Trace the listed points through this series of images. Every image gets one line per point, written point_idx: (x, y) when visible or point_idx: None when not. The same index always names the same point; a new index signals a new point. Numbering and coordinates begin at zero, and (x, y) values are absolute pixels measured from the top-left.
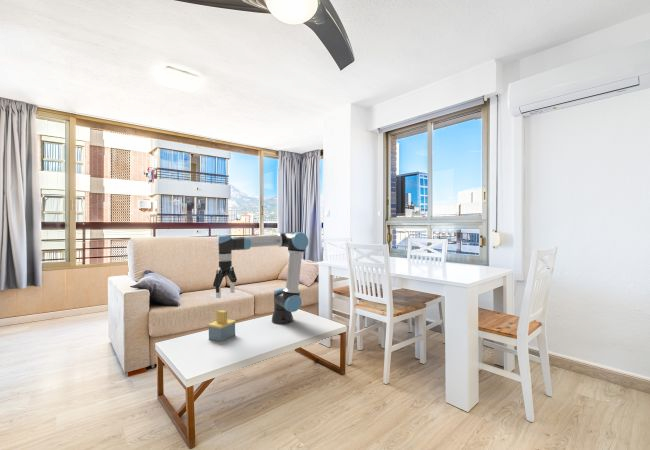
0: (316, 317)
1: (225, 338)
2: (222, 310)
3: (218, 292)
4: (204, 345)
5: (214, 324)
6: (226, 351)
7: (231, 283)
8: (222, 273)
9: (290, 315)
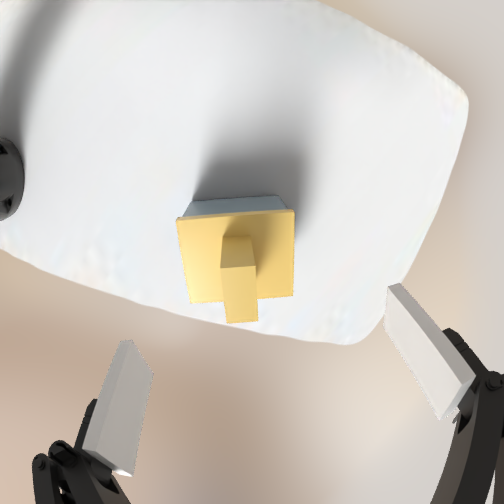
0: None
1: (250, 198)
2: (228, 303)
3: (442, 331)
4: (329, 225)
5: (282, 266)
6: (333, 104)
7: (122, 456)
8: None
9: None
